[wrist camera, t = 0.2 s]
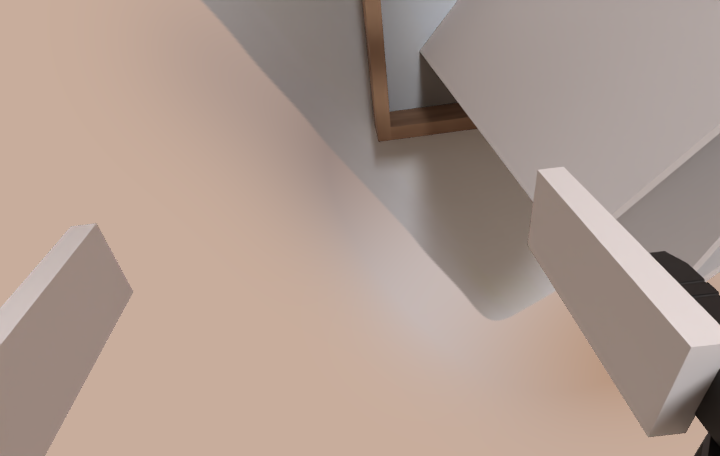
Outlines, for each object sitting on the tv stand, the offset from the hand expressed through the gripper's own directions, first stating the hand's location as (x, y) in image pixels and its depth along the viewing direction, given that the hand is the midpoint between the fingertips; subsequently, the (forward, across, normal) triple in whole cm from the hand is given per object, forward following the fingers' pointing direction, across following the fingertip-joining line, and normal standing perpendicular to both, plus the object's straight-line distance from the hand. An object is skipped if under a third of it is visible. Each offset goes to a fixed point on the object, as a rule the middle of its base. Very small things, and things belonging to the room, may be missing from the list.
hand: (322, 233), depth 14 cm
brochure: (+31, +15, +1) cm, 34 cm away
